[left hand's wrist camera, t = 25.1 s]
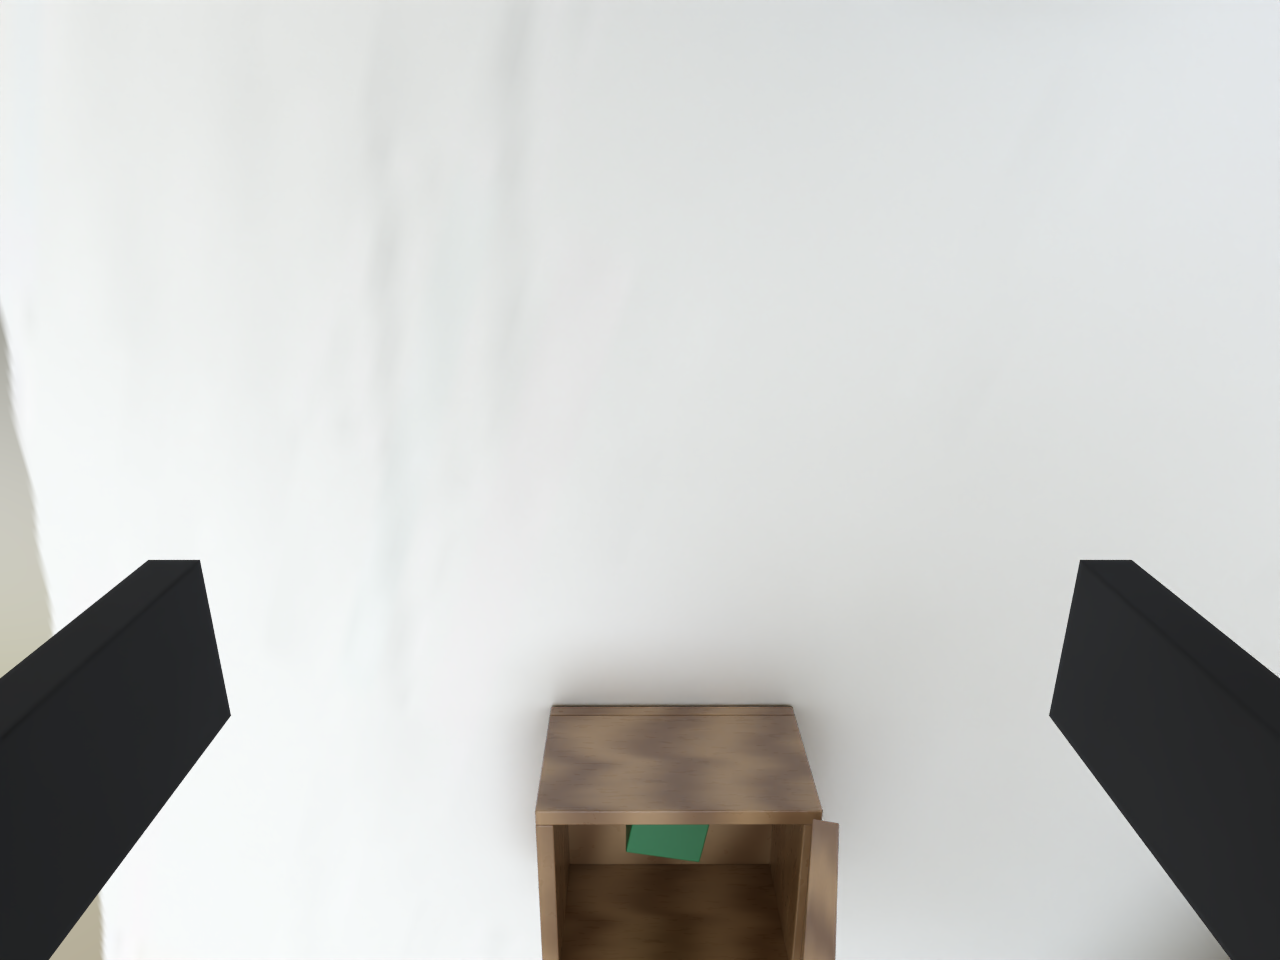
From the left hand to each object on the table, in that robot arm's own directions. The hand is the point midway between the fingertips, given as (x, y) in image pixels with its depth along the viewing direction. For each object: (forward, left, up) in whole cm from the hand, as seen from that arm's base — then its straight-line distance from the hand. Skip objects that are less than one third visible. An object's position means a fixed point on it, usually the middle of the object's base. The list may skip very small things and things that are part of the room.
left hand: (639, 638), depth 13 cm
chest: (+28, -8, -31) cm, 43 cm away
